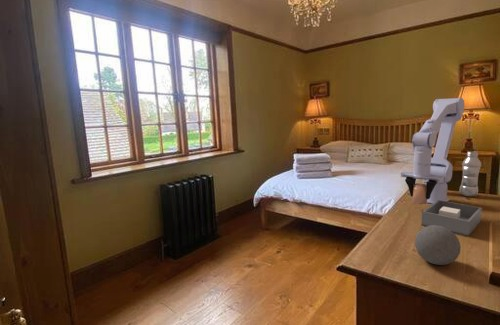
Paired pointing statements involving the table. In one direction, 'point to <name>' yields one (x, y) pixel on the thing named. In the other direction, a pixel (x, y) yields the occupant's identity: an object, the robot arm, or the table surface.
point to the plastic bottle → (470, 174)
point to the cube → (450, 212)
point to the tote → (462, 226)
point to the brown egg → (419, 193)
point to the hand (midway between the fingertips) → (420, 197)
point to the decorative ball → (437, 245)
